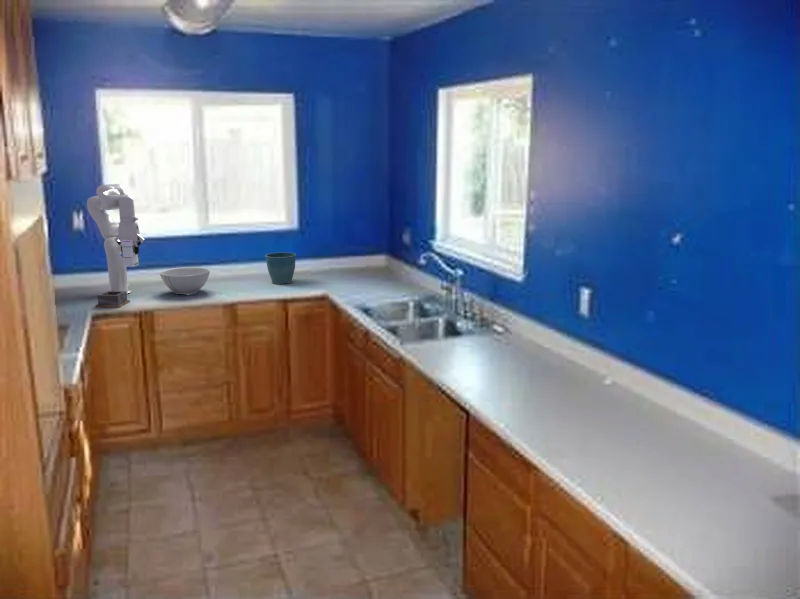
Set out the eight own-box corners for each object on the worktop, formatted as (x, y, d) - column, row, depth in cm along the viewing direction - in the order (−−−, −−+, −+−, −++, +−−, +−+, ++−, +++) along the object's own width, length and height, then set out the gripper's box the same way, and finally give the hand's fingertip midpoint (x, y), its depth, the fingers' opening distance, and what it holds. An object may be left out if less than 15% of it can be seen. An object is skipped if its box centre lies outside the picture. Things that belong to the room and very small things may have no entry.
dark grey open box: (107, 301, 384) (105, 290, 382) (130, 301, 383) (129, 290, 382) (95, 307, 372) (94, 295, 370) (119, 307, 371) (118, 296, 369)
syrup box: (133, 267, 379) (131, 239, 375) (123, 266, 380) (121, 239, 376) (139, 265, 384) (137, 238, 381) (129, 264, 385) (126, 237, 382)
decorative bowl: (154, 297, 393) (152, 276, 390) (170, 287, 419) (169, 267, 416) (202, 298, 392) (201, 276, 389) (216, 287, 418) (215, 267, 416)
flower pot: (272, 286, 422) (271, 258, 418) (262, 281, 437) (261, 253, 433) (301, 283, 430) (300, 255, 426) (290, 278, 446) (289, 251, 442)
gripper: (146, 219, 380) (149, 252, 384) (114, 219, 380) (117, 252, 384) (141, 220, 373) (144, 255, 377) (108, 220, 373) (111, 254, 377)
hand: (130, 253), depth 380 cm, fingers closed on syrup box, 6 cm apart
